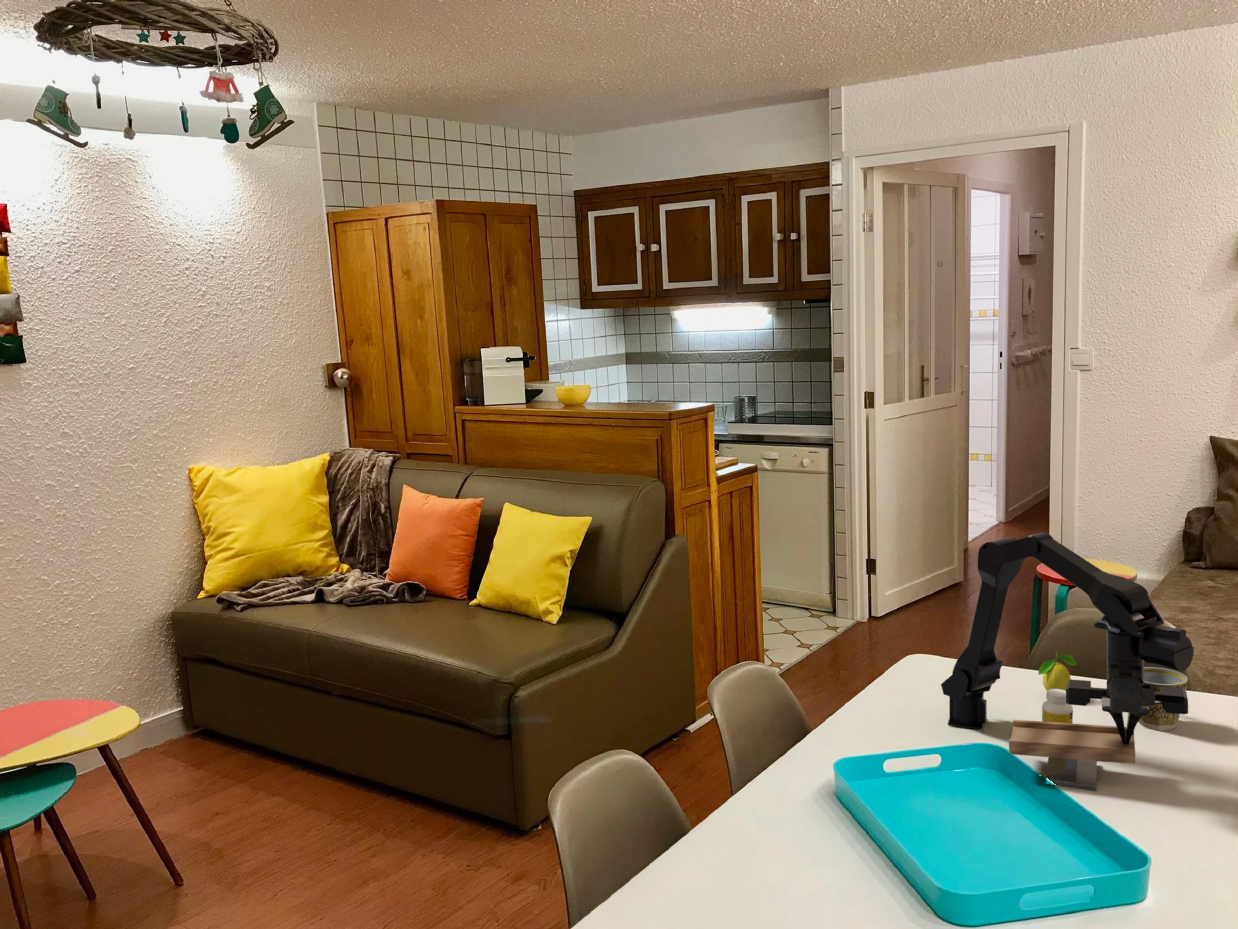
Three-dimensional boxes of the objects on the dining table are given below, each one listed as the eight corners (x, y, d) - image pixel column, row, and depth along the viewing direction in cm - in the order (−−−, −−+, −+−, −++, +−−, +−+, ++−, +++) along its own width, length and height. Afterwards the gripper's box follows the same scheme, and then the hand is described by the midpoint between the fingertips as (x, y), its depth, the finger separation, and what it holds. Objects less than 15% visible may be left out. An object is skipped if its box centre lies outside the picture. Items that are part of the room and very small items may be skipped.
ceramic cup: (1196, 733, 197) (1198, 683, 195) (1144, 735, 197) (1145, 685, 195) (1162, 707, 209) (1163, 661, 208) (1113, 710, 210) (1114, 663, 208)
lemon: (1076, 694, 219) (1076, 649, 217) (1071, 703, 214) (1072, 657, 212) (1042, 689, 222) (1043, 645, 221) (1037, 698, 217) (1038, 653, 216)
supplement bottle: (1075, 747, 193) (1076, 698, 192) (1044, 746, 194) (1045, 697, 193) (1068, 736, 198) (1069, 687, 197) (1039, 735, 199) (1039, 687, 198)
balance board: (1009, 754, 182) (1008, 740, 181) (1014, 732, 191) (1013, 719, 190) (1135, 764, 173) (1135, 750, 173) (1134, 741, 182) (1133, 727, 182)
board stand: (1045, 784, 179) (1045, 759, 179) (1048, 758, 189) (1049, 735, 188) (1095, 791, 176) (1096, 766, 175) (1096, 764, 186) (1097, 741, 185)
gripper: (1064, 667, 173) (1065, 756, 175) (1190, 676, 165) (1190, 769, 167) (1066, 647, 183) (1067, 731, 185) (1185, 655, 175) (1185, 742, 177)
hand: (1125, 743), depth 178 cm, fingers closed, pressing on balance board
